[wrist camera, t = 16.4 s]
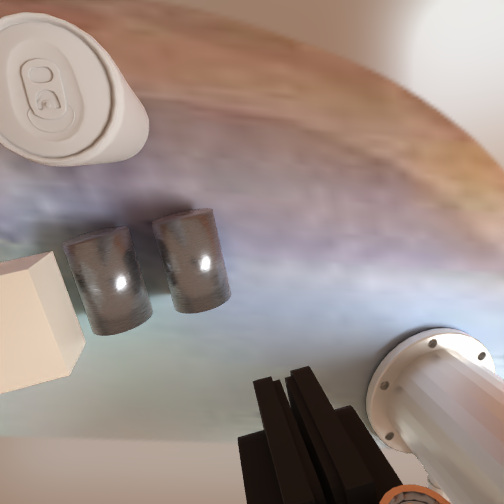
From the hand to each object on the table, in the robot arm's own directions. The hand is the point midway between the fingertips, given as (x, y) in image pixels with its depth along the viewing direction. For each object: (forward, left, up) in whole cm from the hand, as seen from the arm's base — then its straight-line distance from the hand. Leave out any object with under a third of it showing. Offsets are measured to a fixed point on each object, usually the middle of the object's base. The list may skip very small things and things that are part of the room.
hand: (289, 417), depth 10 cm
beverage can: (+10, +5, -18) cm, 21 cm away
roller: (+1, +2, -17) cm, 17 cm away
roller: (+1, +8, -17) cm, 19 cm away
